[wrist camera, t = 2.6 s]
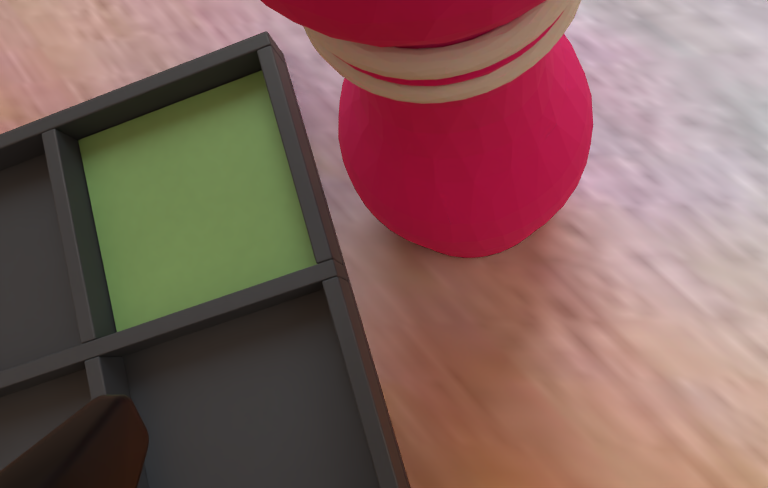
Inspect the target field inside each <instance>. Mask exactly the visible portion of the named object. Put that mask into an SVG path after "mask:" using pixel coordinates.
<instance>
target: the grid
mask: <svg viewBox="0 0 768 488" xmlns="http://www.w3.org/2000/svg"><path fill="white" fill-rule="evenodd" d="M100 395H127V396H128V397H129V398H131V400H132V401H133V403H134V405H135V407H136V409H137V411H138V413H139V415H140V417H141V419H142V420H143V422H144V424H145V426H146V428H147V431H148V435H149V446H148V451H147V454H146V458H145V461H144V465H143V468H142V472H141V476H140V479H139V483H138V486H137V488H410V485H409V482H408V478H407V475H406V472H405V468H404V465H403V461H402V458H401V455H400V451H399V448H398V444H397V441H396V438H395V434H394V431H393V427H392V424H391V420H390V417H389V414H388V410H387V407H386V403H385V400H384V397H383V393H382V390H381V386H380V383H379V379H378V376H377V373H376V369H375V366H374V362H373V359H372V356H371V352H370V349H369V345H368V342H367V338H366V335H365V332H364V328H363V325H362V321H361V318H360V315H359V311H358V308H357V304H356V301H355V297H354V294H353V291H352V287H351V284H350V280H349V277H348V274H347V270H346V267H345V263H344V260H343V256H342V253H341V250H340V246H339V243H338V239H337V236H336V233H335V229H334V226H333V222H332V219H331V216H330V212H329V209H328V205H327V202H326V198H325V195H324V192H323V188H322V185H321V181H320V178H319V175H318V171H317V168H316V164H315V161H314V157H313V154H312V151H311V147H310V144H309V140H308V137H307V134H306V130H305V127H304V123H303V120H302V116H301V113H300V110H299V106H298V103H297V99H296V96H295V93H294V89H293V86H292V82H291V79H290V75H289V72H288V69H287V65H286V62H285V58H284V55H283V53H282V51H281V50H280V49H279V48H278V46H277V45H276V43H275V42H274V41H273V39H272V38H271V36H270V35H269V33H268V32H263V33H261V34H258V35H255V36H253V37H250V38H248V39H245V40H243V41H240V42H237V43H235V44H232V45H230V46H227V47H225V48H222V49H219V50H217V51H214V52H212V53H209V54H206V55H204V56H201V57H199V58H196V59H194V60H191V61H188V62H186V63H183V64H181V65H178V66H176V67H173V68H170V69H168V70H165V71H163V72H160V73H158V74H155V75H152V76H150V77H147V78H145V79H142V80H139V81H137V82H134V83H132V84H129V85H127V86H124V87H121V88H119V89H116V90H114V91H111V92H109V93H106V94H103V95H101V96H98V97H96V98H93V99H90V100H88V101H85V102H83V103H80V104H78V105H75V106H72V107H70V108H67V109H65V110H62V111H60V112H57V113H54V114H52V115H49V116H47V117H44V118H42V119H39V120H36V121H34V122H31V123H29V124H26V125H23V126H21V127H18V128H16V129H13V130H11V131H8V132H5V133H3V134H0V471H1V470H2V469H3V468H5V467H6V466H7V465H9V464H10V463H11V462H13V461H14V460H15V459H16V458H18V457H19V456H20V455H22V454H23V453H24V452H26V451H27V450H28V449H29V448H31V447H32V446H33V445H35V444H36V443H37V442H38V441H40V440H41V439H42V438H44V437H45V436H46V435H48V434H49V433H50V432H51V431H53V430H54V429H55V428H57V427H58V426H59V425H61V424H62V423H63V422H64V421H66V420H67V419H68V418H70V417H71V416H72V415H73V414H75V413H76V412H77V411H79V410H80V409H81V408H83V407H84V406H85V405H86V404H88V403H89V402H90V401H92V400H93V399H94V398H96V397H98V396H100Z"/></svg>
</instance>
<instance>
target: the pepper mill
mask: <svg viewBox="0 0 768 488" xmlns="http://www.w3.org/2000/svg"><path fill="white" fill-rule="evenodd" d="M261 1H262V2H263V3H264V4H265V5H266V6H268V7H270V8H271V9H273V10H275V11H276V12H278V13H280V14H282V15H283V16H285V17H287V18H288V19H290V20H292V21H293V22H295V23H298V24H300V25H302V26H303V27H304V29H305V31H306V33H307V35H308V37H309V39H310V41H311V43H312V44H313V46H314V47H315V49H316V50H317V51H318V53H319V54H320V55H321V56H322V57H323V58H324V59H325V60H326V61H327V62H328V63H329V64H330V65H331V66H332V67H333V68H334V69H335V70H336V71H337V72H338V73H339V74H340V75H342V76H343V77H345V78H344V82H343V85H342V91H341V97H340V105H339V135H338V139H339V143H340V148H341V153H342V158H343V162H344V165H345V167H346V170H347V172H348V175H349V177H350V180H351V182H352V184H353V186H354V188H355V190H356V192H357V193H358V195H359V196H360V198H361V200H362V201H363V203H364V204H365V206H366V207H367V208H368V209H369V210H370V212H371V213H372V214H373V215H374V216H375V217H376V218H377V219H378V220H379V221H380V222H381V223H382V224H384V225H385V226H386V227H387V228H388V229H390V230H391V231H393V232H394V233H396V234H398V235H399V236H401V237H403V238H404V239H406V240H408V241H411V242H413V243H416V244H418V245H421V246H423V247H426V248H430V249H432V250H434V251H436V252H439V253H442V254H446V255H449V256H456V257H463V258H474V257H484V256H489V255H493V254H496V253H500V252H502V251H504V250H507V249H509V248H511V247H513V246H515V245H517V244H518V243H520V242H521V241H523V240H524V239H525V238H527V237H528V236H530V235H531V234H532V233H533V232H534V231H536V230H537V229H538V228H540V227H541V226H543V225H544V224H546V223H547V222H548V221H549V220H550V219H551V218H552V217H553V216H554V215H555V214H556V213H557V212H558V211H559V210H560V209H561V208H562V207H563V206H564V204H565V203H566V201H567V200H568V198H569V197H570V196H571V194H572V193H573V191H574V190H575V188H576V187H577V185H578V183H579V180H580V178H581V175H582V173H583V171H584V168H585V166H586V163H587V159H588V154H589V149H590V145H591V137H592V129H593V115H592V98H591V93H590V89H589V86H588V83H587V79H586V76H585V73H584V71H583V69H582V67H581V64H580V62H579V60H578V58H577V56H576V54H575V51H574V49H573V47H572V45H571V43H570V42H569V40H568V39H567V38H566V36H565V35H564V32H565V31H566V29H567V28H568V26H569V25H570V23H571V22H572V20H573V19H574V16H575V14H576V11H577V9H578V6H579V4H580V2H581V0H261Z"/></svg>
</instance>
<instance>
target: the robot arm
mask: <svg viewBox="0 0 768 488" xmlns="http://www.w3.org/2000/svg"><path fill="white" fill-rule="evenodd" d="M148 446H149V435H148V431H147V428H146V426H145V424H144V422H143V420H142V419H141V417H140V415H139V413H138V411H137V409H136V407H135V405H134V403H133V401H132V400H131V398H129V397H128V396H127V395H100V396H98V397H96V398H94V399H93V400H92V401H90V402H89V403H88V404H86V405H85V406H84V407H83V408H81V409H80V410H79V411H77V412H76V413H75V414H73V415H72V416H71V417H70V418H68V419H67V420H66V421H64V422H63V423H62V424H61V425H59V426H58V427H57V428H55V429H54V430H53V431H51V432H50V433H49V434H48V435H46V436H45V437H44V438H42V439H41V440H40V441H38V442H37V443H36V444H35V445H33V446H32V447H31V448H29V449H28V450H27V451H26V452H24V453H23V454H22V455H20V456H19V457H18V458H16V459H15V460H14V461H13V462H11V463H10V464H9V465H7V466H6V467H5V468H3V469H2V470H1V471H0V488H137V486H138V483H139V479H140V476H141V472H142V468H143V465H144V461H145V458H146V454H147V451H148Z"/></svg>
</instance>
